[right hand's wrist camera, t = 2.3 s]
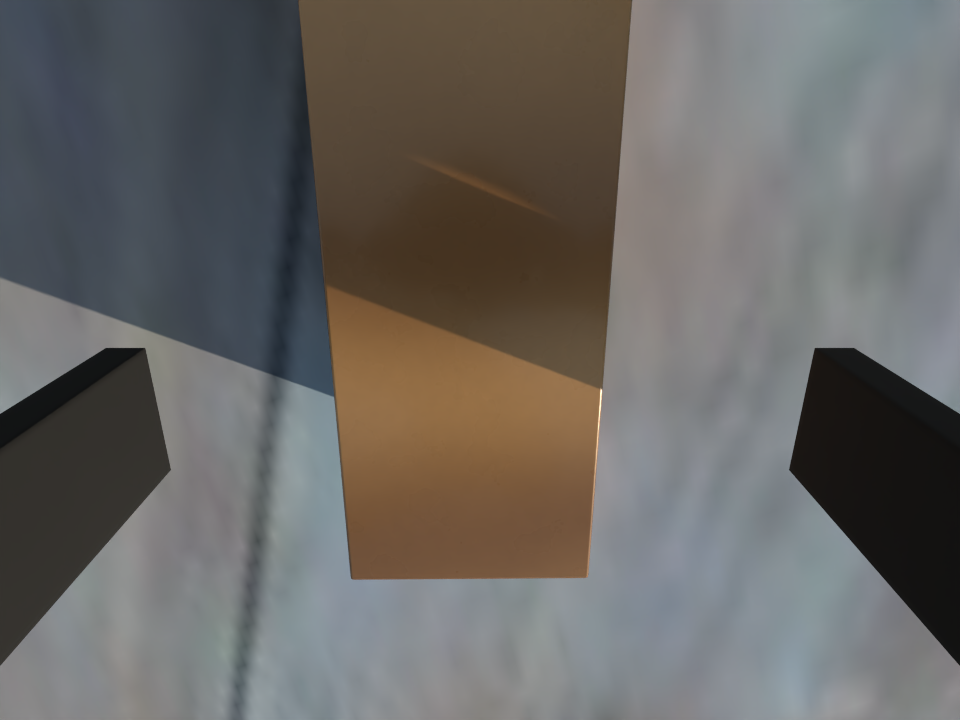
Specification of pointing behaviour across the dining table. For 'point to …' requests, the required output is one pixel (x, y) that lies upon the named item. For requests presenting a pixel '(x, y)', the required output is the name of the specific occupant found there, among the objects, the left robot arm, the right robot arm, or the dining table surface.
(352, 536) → the bar
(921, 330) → the dining table surface
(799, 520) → the dining table surface
